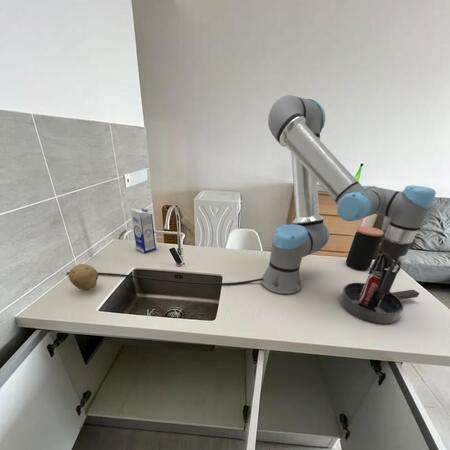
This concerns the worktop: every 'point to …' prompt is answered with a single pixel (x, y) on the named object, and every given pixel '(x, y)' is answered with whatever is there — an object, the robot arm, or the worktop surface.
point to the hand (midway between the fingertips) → (369, 300)
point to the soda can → (370, 288)
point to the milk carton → (143, 230)
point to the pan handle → (404, 294)
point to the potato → (83, 277)
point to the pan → (381, 314)
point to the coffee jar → (363, 248)
